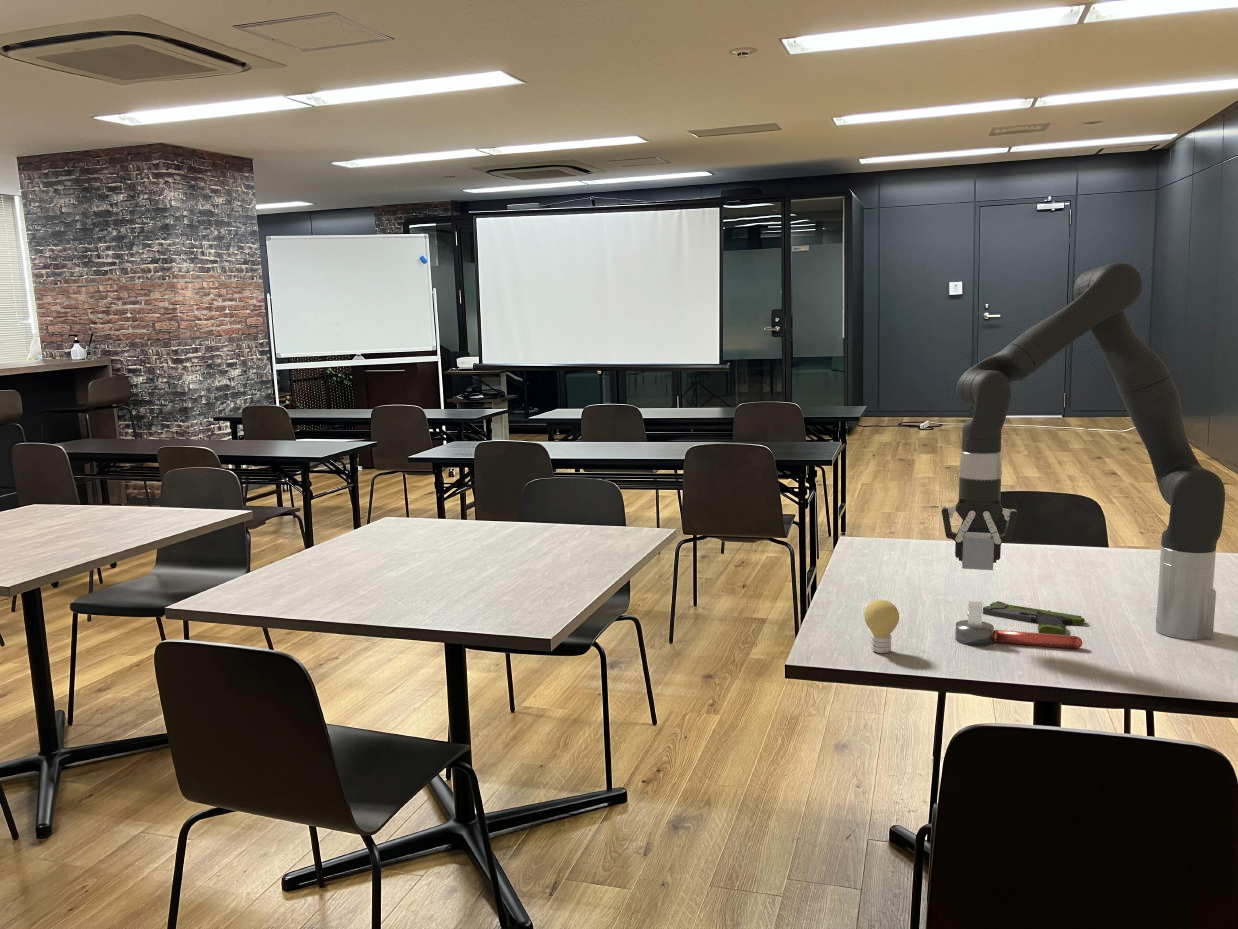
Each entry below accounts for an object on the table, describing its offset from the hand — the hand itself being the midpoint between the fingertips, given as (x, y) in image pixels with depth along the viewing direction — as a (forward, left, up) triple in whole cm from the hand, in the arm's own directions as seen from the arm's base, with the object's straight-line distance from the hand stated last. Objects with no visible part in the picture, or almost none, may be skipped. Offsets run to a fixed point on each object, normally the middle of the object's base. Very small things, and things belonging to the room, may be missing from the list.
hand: (977, 560), depth 184 cm
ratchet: (-8, 0, -16) cm, 18 cm away
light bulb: (+17, +11, -16) cm, 26 cm away
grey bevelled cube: (0, 0, -1) cm, 1 cm away
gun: (-11, -15, -17) cm, 25 cm away
